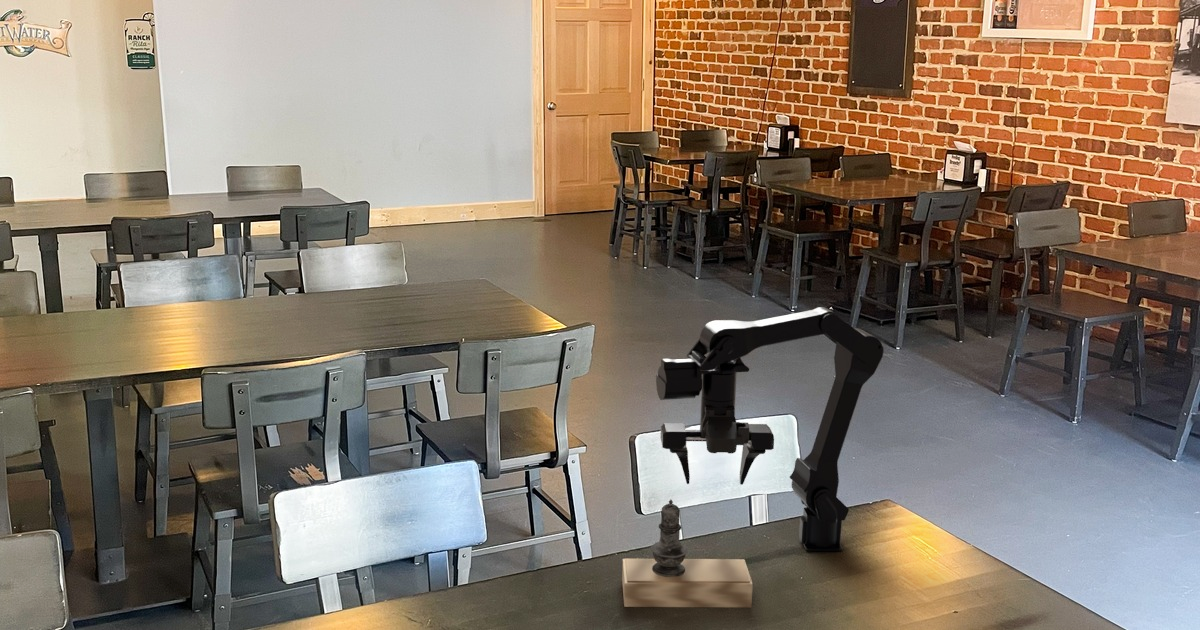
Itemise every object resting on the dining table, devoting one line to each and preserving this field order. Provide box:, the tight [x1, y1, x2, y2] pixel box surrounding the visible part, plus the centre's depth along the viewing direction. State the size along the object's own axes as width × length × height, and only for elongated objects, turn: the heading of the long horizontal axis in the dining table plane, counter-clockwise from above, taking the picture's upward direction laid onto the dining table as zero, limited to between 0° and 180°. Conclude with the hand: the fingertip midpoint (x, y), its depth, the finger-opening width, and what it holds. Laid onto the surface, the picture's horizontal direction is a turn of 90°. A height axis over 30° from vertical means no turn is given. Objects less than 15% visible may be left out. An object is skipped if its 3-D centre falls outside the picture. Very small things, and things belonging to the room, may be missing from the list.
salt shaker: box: [650, 499, 689, 577], centre depth 170 cm, size 6×6×12 cm
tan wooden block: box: [621, 558, 753, 608], centre depth 172 cm, size 20×8×4 cm, turn 91°
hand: (714, 483), depth 184 cm, fingers open, 9 cm apart
